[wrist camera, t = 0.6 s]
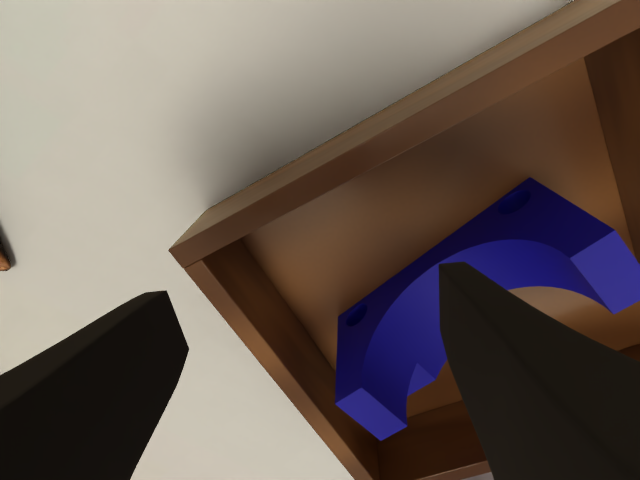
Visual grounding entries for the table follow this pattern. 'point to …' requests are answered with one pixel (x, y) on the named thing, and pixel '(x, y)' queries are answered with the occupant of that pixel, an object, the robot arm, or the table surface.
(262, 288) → the crate
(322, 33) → the table surface
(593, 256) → the cable clip
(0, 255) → the sunglasses case
